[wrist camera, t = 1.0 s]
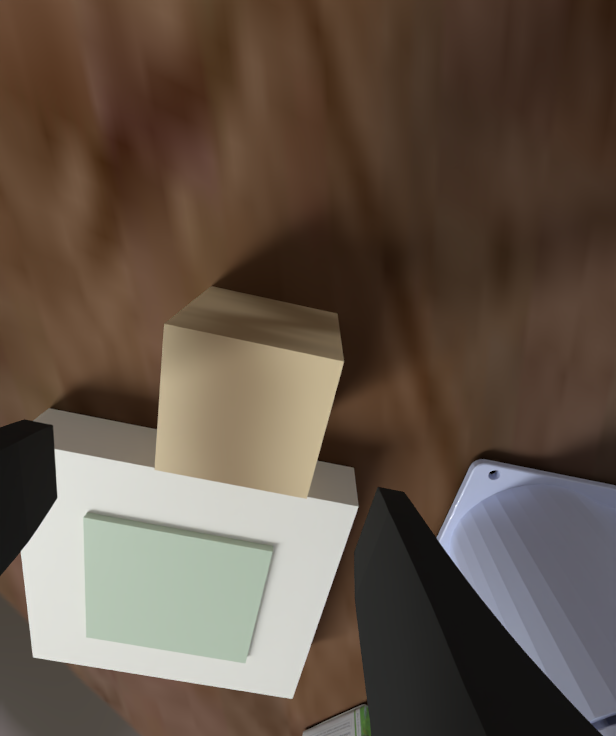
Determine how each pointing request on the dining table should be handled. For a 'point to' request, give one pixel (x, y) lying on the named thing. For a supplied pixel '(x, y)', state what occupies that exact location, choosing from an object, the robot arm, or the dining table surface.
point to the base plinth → (179, 564)
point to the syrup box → (344, 724)
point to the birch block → (247, 391)
